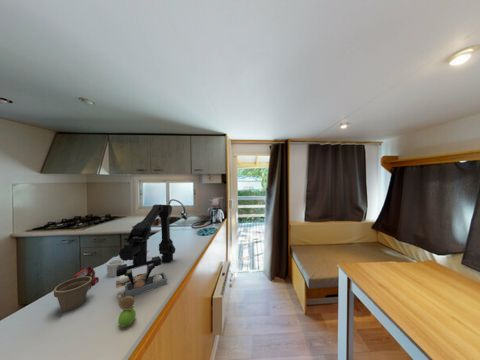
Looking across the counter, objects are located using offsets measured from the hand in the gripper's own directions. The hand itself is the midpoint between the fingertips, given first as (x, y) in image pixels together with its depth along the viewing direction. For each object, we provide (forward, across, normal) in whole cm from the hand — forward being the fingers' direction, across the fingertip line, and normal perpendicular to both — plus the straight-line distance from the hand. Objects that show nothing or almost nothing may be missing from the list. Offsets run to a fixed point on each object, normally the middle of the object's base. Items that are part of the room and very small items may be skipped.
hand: (139, 282), depth 80 cm
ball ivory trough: (+3, -8, 0) cm, 9 cm away
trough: (+4, -3, 0) cm, 5 cm away
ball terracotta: (+3, 0, 0) cm, 3 cm away
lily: (+4, -3, -36) cm, 37 cm away
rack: (+4, +2, -11) cm, 12 cm away
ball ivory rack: (+3, +6, -11) cm, 13 cm away
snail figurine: (+4, +6, +19) cm, 20 cm away
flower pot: (+4, +24, -5) cm, 25 cm away
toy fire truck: (+4, +22, -18) cm, 29 cm away
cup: (+4, +9, -23) cm, 25 cm away
